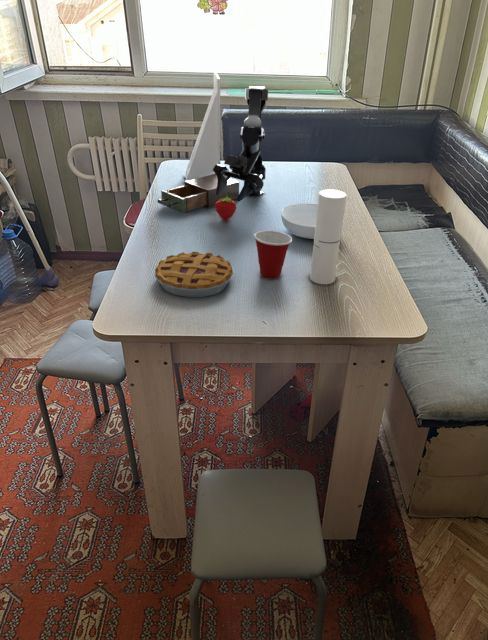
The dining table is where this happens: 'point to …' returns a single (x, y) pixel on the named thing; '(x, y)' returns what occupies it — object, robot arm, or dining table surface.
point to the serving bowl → (300, 219)
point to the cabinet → (215, 188)
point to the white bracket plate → (207, 139)
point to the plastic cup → (271, 252)
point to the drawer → (184, 198)
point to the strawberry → (225, 208)
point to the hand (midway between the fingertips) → (227, 198)
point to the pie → (194, 274)
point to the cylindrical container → (327, 235)
